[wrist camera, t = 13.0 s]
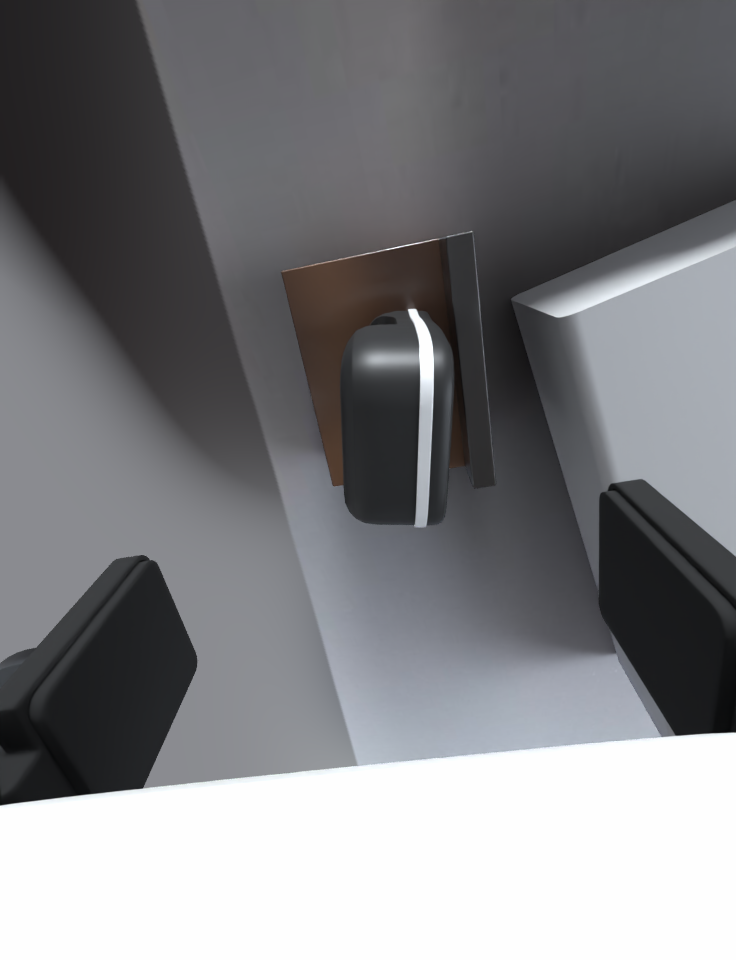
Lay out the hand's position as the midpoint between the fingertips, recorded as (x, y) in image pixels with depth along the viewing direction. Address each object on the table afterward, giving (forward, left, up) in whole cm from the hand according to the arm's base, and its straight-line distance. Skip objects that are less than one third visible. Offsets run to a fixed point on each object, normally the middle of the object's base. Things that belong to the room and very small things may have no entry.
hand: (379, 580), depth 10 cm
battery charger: (0, 0, -18) cm, 18 cm away
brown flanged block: (0, 0, -23) cm, 23 cm away
